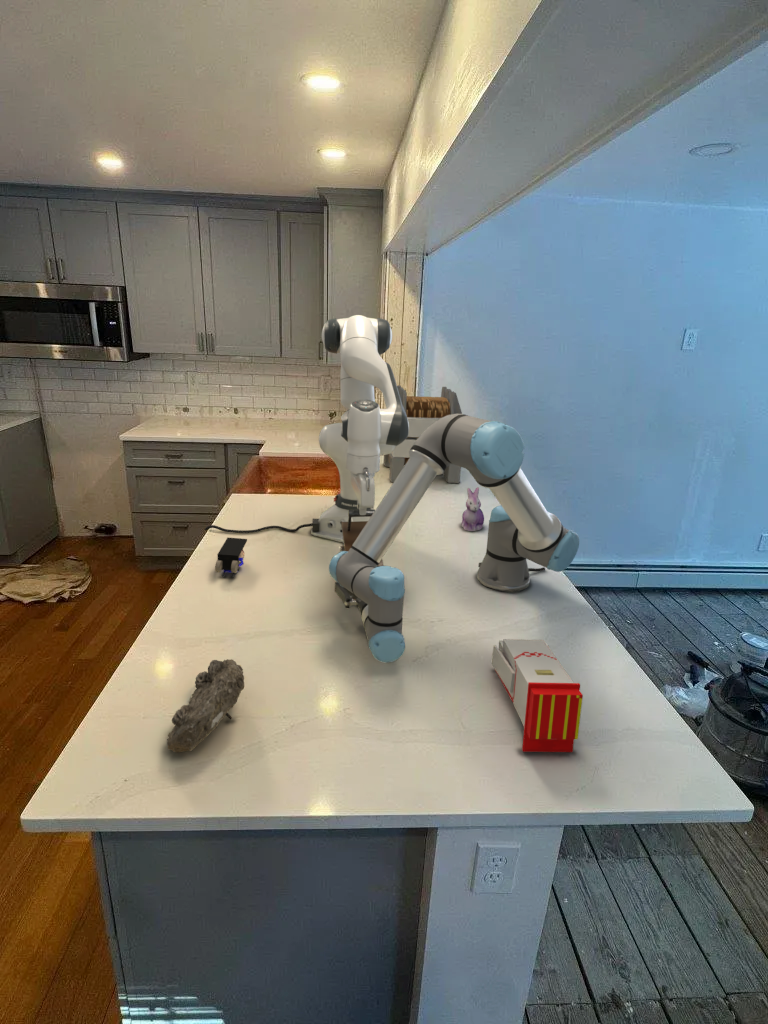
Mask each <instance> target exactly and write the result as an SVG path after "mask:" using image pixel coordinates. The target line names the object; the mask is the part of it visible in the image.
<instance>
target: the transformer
mask: <svg viewBox="0 0 768 1024" xmlns="http://www.w3.org/2000/svg"><path fill="white" fill-rule="evenodd" d="M397 388H398V392H399V395H400V399H401V402H402V405H403V408H404V410H405V413H406V415H407V419H408V422H409V432H408V437H407V438H406V439H405V440H404V441H403V442H402V443H401V444H399V445H398V446H396V447H395V449H394V450H393V451H392V453H390V454H386V455H383V466H384V467H388V468H389V475H388V476H389V477H388V478H389V480H390V482H391V483H394V481H395V480H396V478H397V477H398V475H399V473H400V472H401V470H402V469H403V467H404V466H405V464H406V463H407V461H408V460H409V458H410V455H409V450H410V449H411V447H412V446H413V444H414V443H415V442H416V440H417V439H418V438H419V436H420V435H421V434H422V433H423V432H424V431H425V430H426V429H427V428H428V427H429V426H431V425H432V424H433V423H434V422H436V421H437V420H439V419H440V418H443V417H445V416H447V415H451V414H463V411H462V408H461V405H460V402H459V398H458V395H457V392H455V391H453V390H452V389H451V388H447V386H442V387H441V392H440V393H441V394H440V396H415V395H414V396H413V395H412V396H411V395H407V394H408V393H407V390H406V389H404V388H403V387H402V385H399V384H398V385H397ZM461 472H462V467H460V466H457V465H454V464H450V465H449V466H447V468H446V469H445V471H444V472H443V474H442V475H443V478H444V479H445V481H446V482H447V483H449V484H455V483H456V484H459V483H461Z"/></svg>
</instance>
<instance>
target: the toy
mask: <svg viewBox="0 0 768 1024" xmlns="http://www.w3.org/2000/svg"><path fill="white" fill-rule="evenodd" d="M491 665H492V667H493V668H494V671H495V673H496V674H497V677H498V678H499V680H500V682H501V684H502V686H503V687H504V689H505V691H506V693H507V695H508V696H509V699H510V700H511V702H512V703H513V706H514V708H515V711H516V713H517V715H518V717H519V719H520V722H521V723H522V726H523V737H522V747H521V751H522V752H523V753H524V752H525V753H527V752H528V753H532V752H533V753H534V752H535V753H573V752H574V744H575V740H578V739H579V732H580V724H581V723H580V722H581V714H582V705H583V696H584V694H583V693H582V692H581V684H580V683H579V682H574V681H573V679H572V677H570V675H569V674H568V673H567V671H566V670H565V668H564V667H563V665H562V664H561V662H560V661H559V659H557V657H556V656H555V654H554V652H553V651H552V649H551V648H550V646H549V645H548V644H547V643H546V641H545V640H544V639H522V638H521V639H517V638H503V640H499V642H498V646H497V644H494V645H493V649H492V656H491Z"/></svg>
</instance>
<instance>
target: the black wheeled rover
mask: <svg viewBox="0 0 768 1024" xmlns="http://www.w3.org/2000/svg"><path fill="white" fill-rule="evenodd" d="M247 542H248V538H240V537H226V539H225V541H224V543H223V544H222V546H221V547H220V549H219V551H218V552H217V560H216V562H215V564H214V572H215V573H221V577H222V578H224V577H225V576H226V574H227V573H230V574H231V573H232V574H231V578H234V577H235V575H236V573H237V572H239V571H240V567H242V566H243V565H244V564H245V562H244V558H245V551H244V547H245V546H246V544H247Z"/></svg>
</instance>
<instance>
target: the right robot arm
mask: <svg viewBox="0 0 768 1024" xmlns="http://www.w3.org/2000/svg"><path fill="white" fill-rule="evenodd" d="M523 450H525V443H524V439H523V438H522V435H521V434H520V433H519V431H518V430H517V429H516V428H515V427H512V426H511V425H507V424H506V423H503V422H501V421H494V420H489V419H484V418H481V417H480V418H479V417H476V416H471V415H468V414H464V413H462V414H451V415H447V416H445V417H443V418H440V419H439V420H437V421H436V422H434V423H433V424H432V425H431V426H429V427H428V428H427V429H426V430H425V431H424V432H423V433H422V434H421V435H420V436H419V438H418V439H417V440H416V442H415V443H414V444H413V446H412V447H411V449H410V450H409V455H410V458H409V460H408V461H407V463H406V464H405V465H404V467H403V469H402V470H401V472H400V473H399V475H398V477H397V478H396V480H395V481H394V482H392V484H391V486H390V487H389V489H388V490H387V492H386V493H385V494H384V496H383V497H382V499H381V501H380V503H379V504H378V506H377V507H376V508H375V511H374V513H373V515H372V516H371V518H370V519H369V521H368V522H367V524H366V525H365V527H364V528H363V530H362V531H361V533H360V534H359V536H358V537H357V539H356V540H355V542H354V543H353V545H352V547H351V548H350V550H349V551H342V552H340V551H338V553H337V554H334V555H333V556H332V558H331V559H330V561H329V564H328V573H329V574H330V577H331V578H332V579H333V580H334V581H335V582H334V593H336V595H337V596H338V597H339V598H340V600H341V601H342V602H343V603H344V608H345V609H350V608H351V606H355V607H356V608H358V609H359V610H358V611H359V614H360V618H361V622H362V625H363V629H364V632H365V636H366V639H367V643H368V645H367V646H368V649H369V650H370V652H371V655H372V656H373V658H374V659H375V660H376V661H378V662H381V663H386V664H388V663H393V662H395V661H398V660H399V659H400V658H401V657H402V656H403V655H404V653H405V650H406V642H405V637H404V634H403V620H404V619H403V613H404V600H405V592H406V589H405V575H404V573H403V571H402V570H401V569H399V568H397V567H392V566H390V565H384V566H379V567H377V565H378V564H379V562H380V561H381V559H382V560H383V558H384V556H385V555H386V553H387V551H388V550H389V549H390V547H391V546H392V544H393V543H394V541H395V539H396V538H397V537H398V535H399V533H400V532H401V531H402V529H403V527H404V526H405V524H406V523H407V521H408V519H409V518H410V517H411V515H412V514H413V512H414V511H415V510H416V508H417V506H418V505H419V503H420V501H421V500H422V498H423V497H424V495H425V494H426V493H427V490H428V489H429V488H430V486H431V484H432V483H433V481H434V480H435V478H436V477H437V476H440V475H444V474H443V472H444V471H445V469H446V468H447V466H449V465H450V464H454V465H457V466H460V467H461V468H463V469H466V470H467V471H468V472H469V474H470V475H471V476H472V477H473V479H474V481H475V482H476V483H477V484H478V485H479V486H480V487H483V488H485V489H489V490H490V492H491V493H492V495H493V497H495V499H496V500H497V502H498V503H499V505H497V506H495V507H493V508H492V509H491V512H490V517H489V520H488V531H487V541H486V551H485V555H484V557H483V559H482V561H481V562H478V570H477V581H478V582H479V583H480V584H482V585H483V586H484V587H487V588H489V589H491V590H495V591H498V592H499V591H500V592H505V593H506V592H507V593H508V592H510V593H512V592H513V593H515V592H521V591H523V590H526V589H527V588H528V587H529V586H530V582H531V575H530V572H532V573H533V572H535V573H536V572H537V573H538V572H544V571H546V569H547V570H551V571H553V572H557V573H560V572H563V571H564V570H566V569H568V567H569V566H570V565H571V564H572V562H573V561H574V559H575V558H576V556H577V553H578V550H579V547H580V536H579V534H578V533H577V532H576V531H574V530H573V529H568V528H566V527H565V526H564V525H563V524H562V522H561V520H560V519H559V518H558V516H557V515H556V514H554V513H552V512H549V511H547V509H546V507H545V506H544V504H543V503H542V500H541V499H540V497H539V495H538V494H537V493H536V491H535V489H534V487H533V486H532V485H531V483H530V481H529V480H528V478H527V476H526V475H525V473H524V471H523V470H522V464H523V462H524V458H525V452H523ZM527 561H530V562H533V563H535V564H537V565H539V566H542V567H540V568H535V567H533V568H531V567H530V568H529V565H528V562H527ZM352 597H353V598H354V599H356V600H354V599H353V598H352Z"/></svg>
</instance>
